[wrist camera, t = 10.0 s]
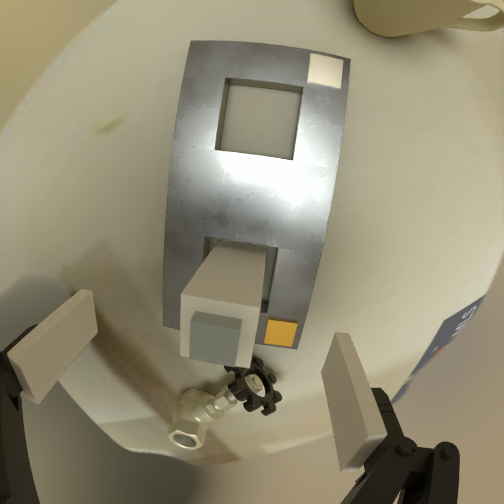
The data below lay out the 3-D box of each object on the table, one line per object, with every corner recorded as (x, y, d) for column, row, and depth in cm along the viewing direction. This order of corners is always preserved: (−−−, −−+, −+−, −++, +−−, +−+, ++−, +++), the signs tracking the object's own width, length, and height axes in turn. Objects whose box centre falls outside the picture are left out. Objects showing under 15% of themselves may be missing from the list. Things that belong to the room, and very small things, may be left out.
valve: (208, 418, 30) (282, 375, 27) (197, 459, 24) (282, 424, 21) (166, 388, 29) (236, 338, 26) (148, 429, 23) (225, 385, 20)
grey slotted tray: (170, 315, 26) (162, 327, 24) (197, 49, 18) (189, 39, 16) (296, 336, 26) (297, 351, 23) (344, 66, 18) (351, 57, 16)
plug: (214, 284, 25) (174, 365, 14) (218, 240, 23) (174, 302, 13) (259, 292, 24) (247, 380, 14) (266, 248, 23) (259, 318, 13)
